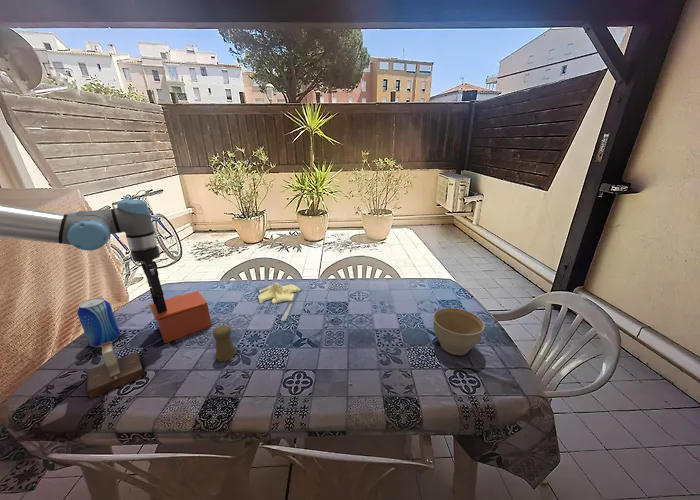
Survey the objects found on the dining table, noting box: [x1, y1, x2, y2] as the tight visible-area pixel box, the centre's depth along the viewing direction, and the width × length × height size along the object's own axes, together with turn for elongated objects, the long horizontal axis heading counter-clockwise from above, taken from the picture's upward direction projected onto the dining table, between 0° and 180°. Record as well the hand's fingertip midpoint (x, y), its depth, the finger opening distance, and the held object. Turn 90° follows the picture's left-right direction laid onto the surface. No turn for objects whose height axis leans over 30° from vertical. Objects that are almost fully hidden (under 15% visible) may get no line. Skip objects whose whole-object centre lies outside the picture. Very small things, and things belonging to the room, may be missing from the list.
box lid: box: [148, 290, 208, 321], centre depth 100 cm, size 16×13×7 cm
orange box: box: [155, 304, 212, 344], centre depth 103 cm, size 16×13×10 cm
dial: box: [101, 341, 120, 377], centre depth 79 cm, size 6×2×8 cm, turn 42°
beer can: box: [76, 297, 121, 348], centre depth 94 cm, size 8×8×16 cm
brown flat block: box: [87, 351, 145, 399], centre depth 81 cm, size 12×10×3 cm
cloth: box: [257, 282, 302, 304], centre depth 129 cm, size 22×19×6 cm
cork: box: [212, 324, 237, 362], centre depth 88 cm, size 6×6×11 cm
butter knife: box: [280, 303, 293, 322], centre depth 121 cm, size 1×27×3 cm
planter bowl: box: [432, 307, 485, 356], centre depth 93 cm, size 16×16×11 cm
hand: (160, 307), depth 97 cm, fingers open, 7 cm apart
